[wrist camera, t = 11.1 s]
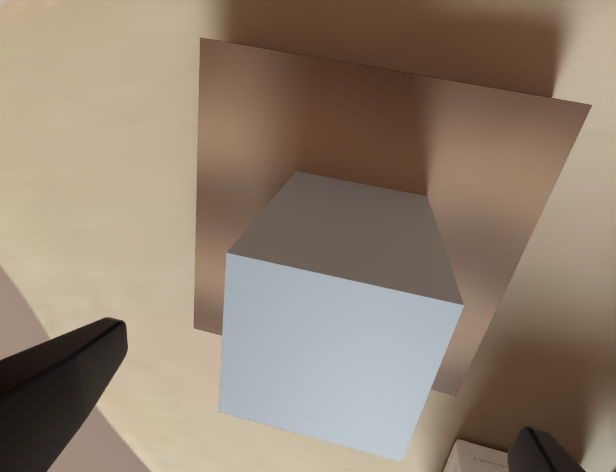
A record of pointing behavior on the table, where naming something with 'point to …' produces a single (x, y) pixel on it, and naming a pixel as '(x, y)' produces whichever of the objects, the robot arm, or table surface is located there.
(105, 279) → the table surface
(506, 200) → the walnut base
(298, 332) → the grey block
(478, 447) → the supplement box
